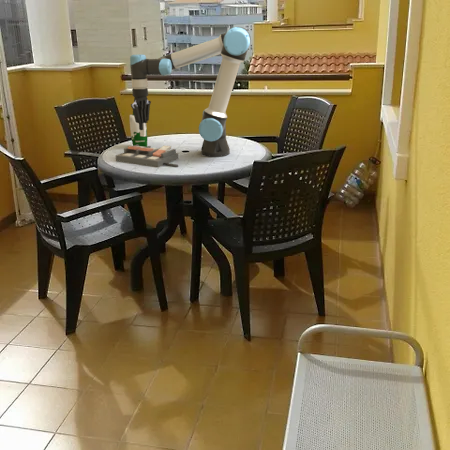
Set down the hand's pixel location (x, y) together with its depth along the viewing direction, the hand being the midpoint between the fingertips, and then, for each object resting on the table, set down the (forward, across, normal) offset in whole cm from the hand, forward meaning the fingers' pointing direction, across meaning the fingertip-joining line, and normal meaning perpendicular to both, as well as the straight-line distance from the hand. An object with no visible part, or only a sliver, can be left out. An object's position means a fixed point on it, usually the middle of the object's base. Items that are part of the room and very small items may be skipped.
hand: (143, 136), depth 266 cm
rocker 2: (+8, -4, +8) cm, 12 cm away
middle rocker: (+8, -4, 0) cm, 9 cm away
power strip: (+13, -1, +5) cm, 13 cm away
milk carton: (+13, -21, -20) cm, 32 cm away
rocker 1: (+8, -4, -8) cm, 12 cm away
